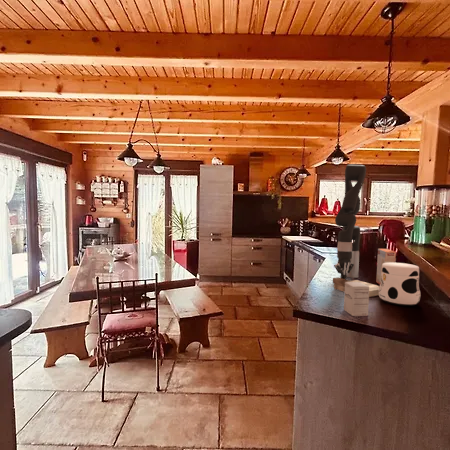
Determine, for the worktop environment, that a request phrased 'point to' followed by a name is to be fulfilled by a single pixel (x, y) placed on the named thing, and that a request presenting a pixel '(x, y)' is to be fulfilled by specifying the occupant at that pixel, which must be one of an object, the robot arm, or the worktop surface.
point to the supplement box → (356, 298)
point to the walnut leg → (340, 281)
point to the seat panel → (372, 288)
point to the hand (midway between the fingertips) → (343, 280)
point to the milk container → (400, 284)
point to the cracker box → (384, 261)
